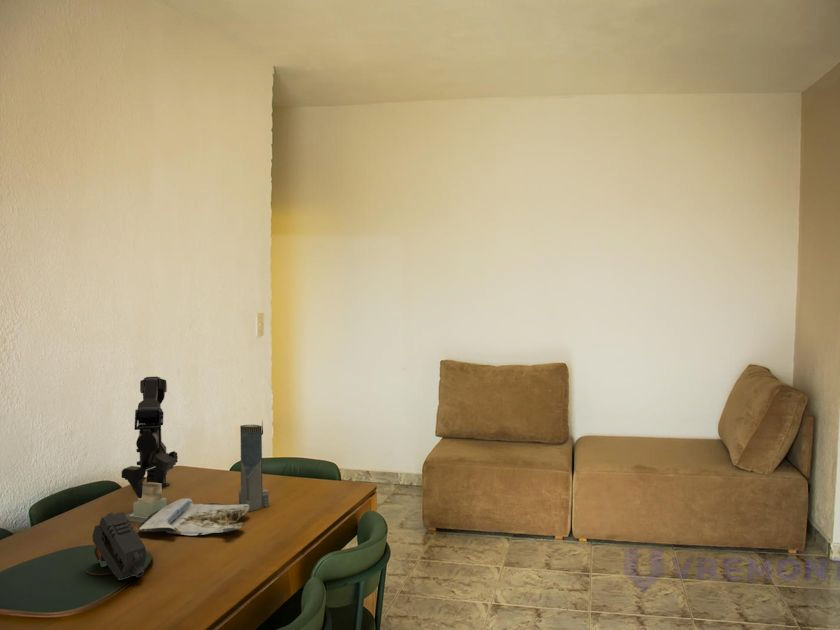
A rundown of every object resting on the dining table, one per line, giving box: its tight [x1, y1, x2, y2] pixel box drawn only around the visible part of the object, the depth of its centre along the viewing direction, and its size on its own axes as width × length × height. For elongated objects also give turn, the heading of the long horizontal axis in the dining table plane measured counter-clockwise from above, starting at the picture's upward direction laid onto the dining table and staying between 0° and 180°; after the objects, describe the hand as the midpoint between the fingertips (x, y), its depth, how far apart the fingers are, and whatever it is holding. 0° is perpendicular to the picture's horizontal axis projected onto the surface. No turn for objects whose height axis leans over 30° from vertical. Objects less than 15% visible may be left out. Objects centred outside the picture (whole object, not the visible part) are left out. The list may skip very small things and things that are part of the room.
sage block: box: [132, 497, 168, 517], centre depth 220 cm, size 7×7×4 cm
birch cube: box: [137, 481, 163, 504], centre depth 220 cm, size 5×5×5 cm
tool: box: [92, 511, 148, 579], centre depth 176 cm, size 6×19×15 cm, turn 51°
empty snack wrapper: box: [136, 497, 250, 536], centre depth 209 cm, size 24×30×5 cm
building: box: [238, 421, 270, 513], centre depth 226 cm, size 10×9×30 cm
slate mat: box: [125, 511, 148, 524], centre depth 220 cm, size 16×12×1 cm
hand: (150, 493), depth 220 cm, fingers open, 9 cm apart
